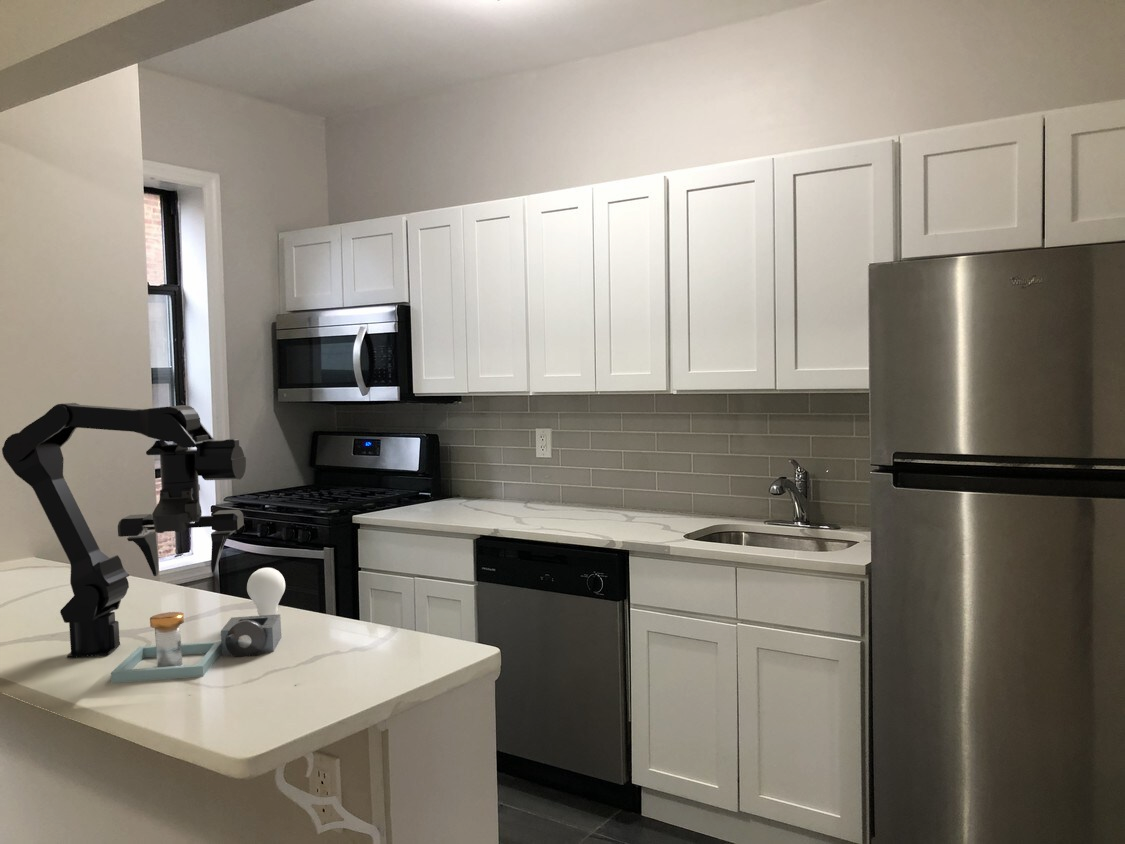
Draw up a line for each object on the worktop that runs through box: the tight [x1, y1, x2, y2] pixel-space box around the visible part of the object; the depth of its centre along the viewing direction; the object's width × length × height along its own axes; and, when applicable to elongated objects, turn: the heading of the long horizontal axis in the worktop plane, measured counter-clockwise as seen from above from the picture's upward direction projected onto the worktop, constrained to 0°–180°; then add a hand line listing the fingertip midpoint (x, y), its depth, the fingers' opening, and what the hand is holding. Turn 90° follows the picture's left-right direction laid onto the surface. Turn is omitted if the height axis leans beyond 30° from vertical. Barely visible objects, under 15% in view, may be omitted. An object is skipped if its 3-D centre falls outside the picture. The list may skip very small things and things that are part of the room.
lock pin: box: [149, 611, 185, 667], centre depth 141 cm, size 5×5×8 cm
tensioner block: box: [220, 613, 282, 658], centre depth 149 cm, size 8×10×6 cm
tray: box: [110, 640, 222, 684], centre depth 141 cm, size 13×13×2 cm
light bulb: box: [246, 567, 286, 616], centre depth 164 cm, size 7×7×11 cm
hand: (185, 574), depth 152 cm, fingers open, 9 cm apart
